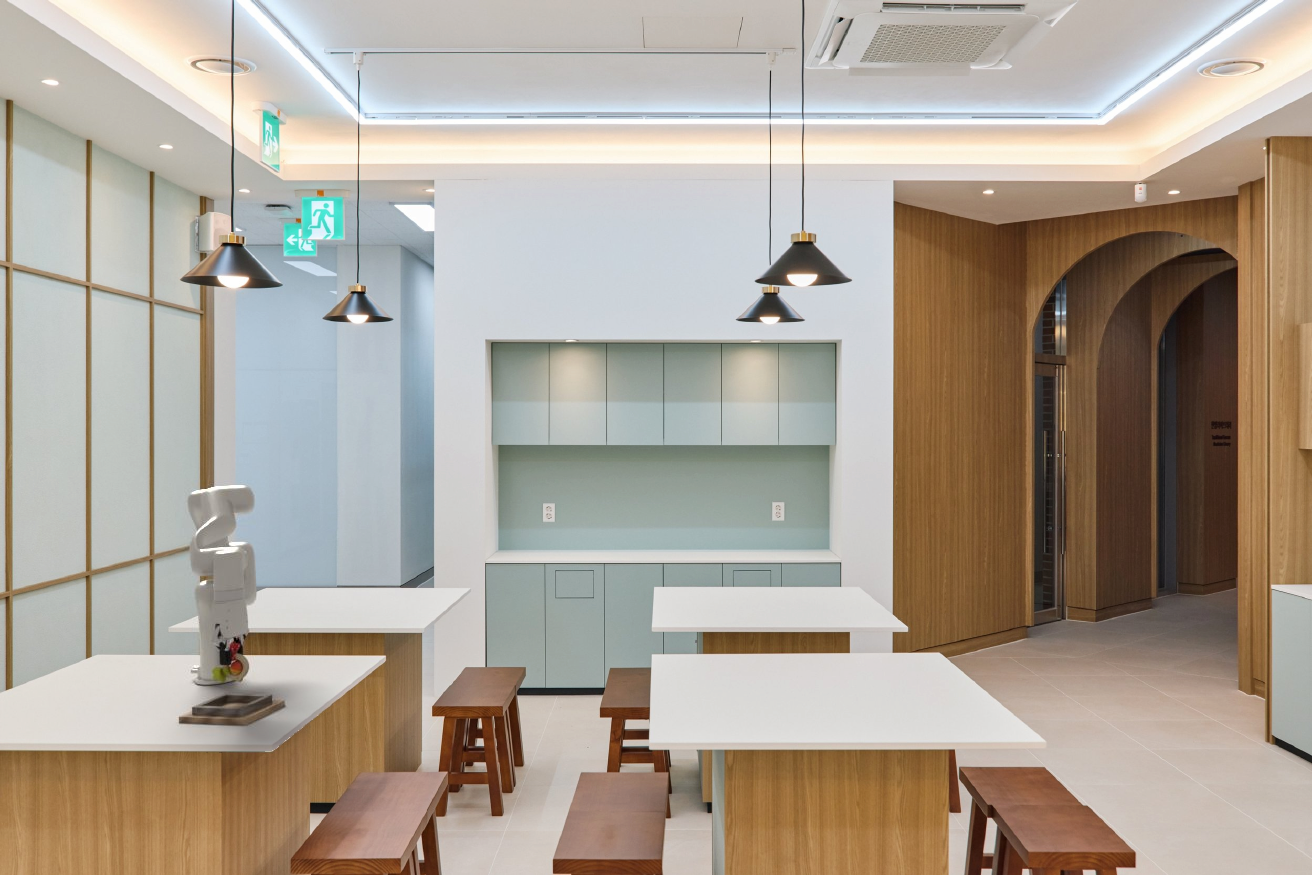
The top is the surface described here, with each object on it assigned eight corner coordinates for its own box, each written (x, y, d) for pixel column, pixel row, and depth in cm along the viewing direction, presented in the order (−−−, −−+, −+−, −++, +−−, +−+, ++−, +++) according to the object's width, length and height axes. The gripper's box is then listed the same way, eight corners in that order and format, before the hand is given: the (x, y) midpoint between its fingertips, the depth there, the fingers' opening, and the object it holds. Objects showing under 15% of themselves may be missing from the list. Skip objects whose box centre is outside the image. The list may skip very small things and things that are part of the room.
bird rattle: (244, 688, 248) (214, 675, 249) (262, 650, 250) (233, 637, 250) (234, 691, 242) (203, 677, 243) (253, 652, 244) (223, 638, 244)
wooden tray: (178, 722, 240) (178, 709, 240) (222, 703, 256) (221, 690, 256) (245, 724, 235) (244, 711, 235) (284, 705, 252) (284, 692, 252)
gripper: (237, 590, 255) (239, 654, 255) (195, 601, 238) (197, 670, 238) (261, 590, 253) (263, 655, 253) (220, 601, 237) (222, 670, 237)
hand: (231, 661), depth 246 cm, fingers closed on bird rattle, 4 cm apart
